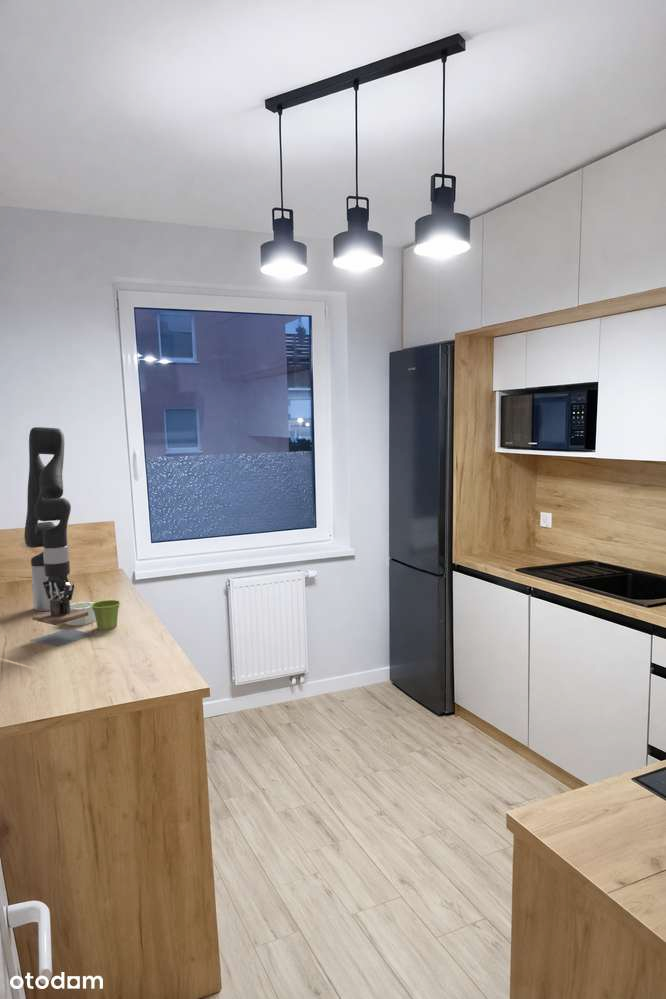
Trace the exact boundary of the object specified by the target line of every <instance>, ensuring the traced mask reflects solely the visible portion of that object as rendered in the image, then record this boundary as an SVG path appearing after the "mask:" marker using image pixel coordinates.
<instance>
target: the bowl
mask: <svg viewBox="0 0 666 999" xmlns="http://www.w3.org/2000/svg"><path fill="white" fill-rule="evenodd" d="M93 603H95V602H93V601H82V602H81V601H80V602H74V603H70V608H72V609H77V610H82V611H86V612H88V616H85V617H82V618H78V619H75V620H72V621H68V622H65V623H64V624H65V625H69V626H80V625H81V626H83V625H88V624H92V623H95V622H96V618H95V613H94V611H93V608H92V607H91V605H92V604H93Z"/></svg>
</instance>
